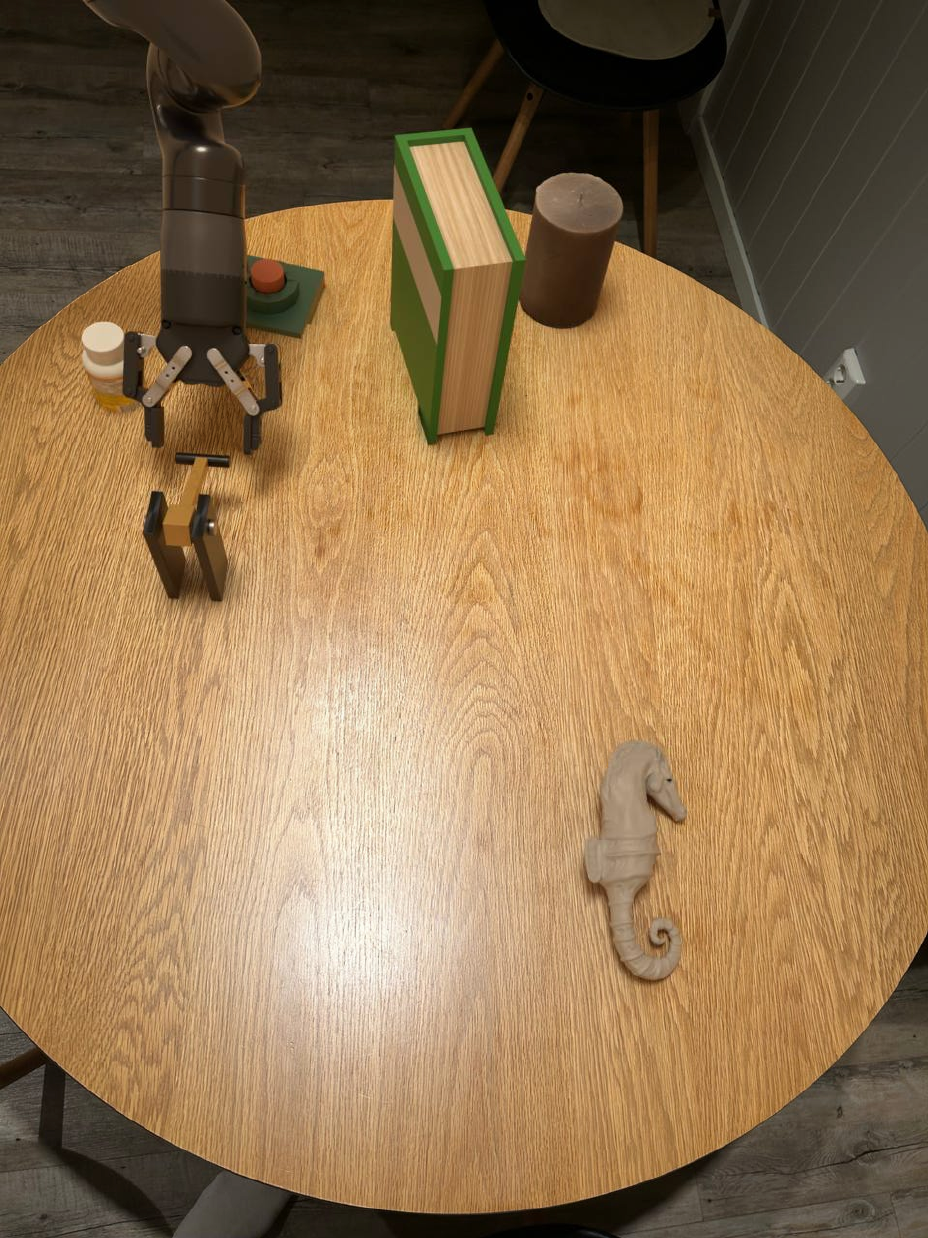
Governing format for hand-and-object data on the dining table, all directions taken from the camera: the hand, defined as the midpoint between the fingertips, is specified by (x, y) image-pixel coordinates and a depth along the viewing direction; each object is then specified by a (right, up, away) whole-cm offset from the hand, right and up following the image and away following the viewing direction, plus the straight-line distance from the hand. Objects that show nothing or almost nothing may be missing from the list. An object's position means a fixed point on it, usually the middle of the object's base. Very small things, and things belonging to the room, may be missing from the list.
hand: (203, 450), depth 89 cm
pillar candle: (+36, +23, +24) cm, 49 cm away
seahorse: (+40, -37, -6) cm, 55 cm away
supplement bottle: (-12, +7, +11) cm, 18 cm away
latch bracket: (-1, -13, +2) cm, 13 cm away
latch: (0, -6, -4) cm, 7 cm away
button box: (+3, +20, +19) cm, 28 cm away
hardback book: (+22, +11, +17) cm, 30 cm away
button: (+3, +22, +16) cm, 27 cm away
